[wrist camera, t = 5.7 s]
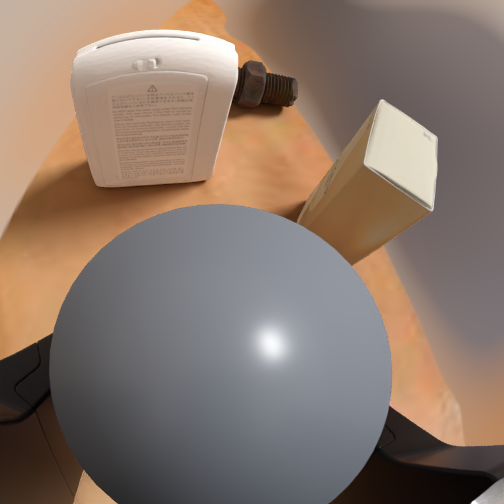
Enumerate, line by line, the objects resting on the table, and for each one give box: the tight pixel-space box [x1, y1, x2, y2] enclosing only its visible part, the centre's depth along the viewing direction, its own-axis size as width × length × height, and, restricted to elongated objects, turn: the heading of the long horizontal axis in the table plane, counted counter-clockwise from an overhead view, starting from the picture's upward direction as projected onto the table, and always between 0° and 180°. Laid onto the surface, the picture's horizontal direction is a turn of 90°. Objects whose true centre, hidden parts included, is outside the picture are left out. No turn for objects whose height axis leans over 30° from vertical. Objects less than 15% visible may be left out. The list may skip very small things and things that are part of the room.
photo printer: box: [71, 30, 238, 187], centre depth 19 cm, size 10×4×12 cm, turn 101°
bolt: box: [233, 60, 298, 108], centre depth 27 cm, size 6×5×15 cm
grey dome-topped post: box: [49, 204, 392, 504], centre depth 9 cm, size 5×5×12 cm
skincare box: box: [296, 100, 438, 266], centre depth 20 cm, size 6×4×12 cm
